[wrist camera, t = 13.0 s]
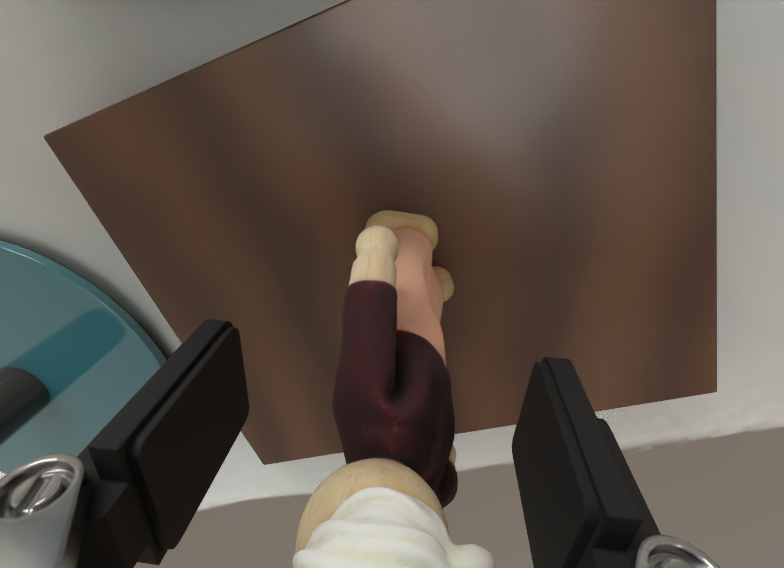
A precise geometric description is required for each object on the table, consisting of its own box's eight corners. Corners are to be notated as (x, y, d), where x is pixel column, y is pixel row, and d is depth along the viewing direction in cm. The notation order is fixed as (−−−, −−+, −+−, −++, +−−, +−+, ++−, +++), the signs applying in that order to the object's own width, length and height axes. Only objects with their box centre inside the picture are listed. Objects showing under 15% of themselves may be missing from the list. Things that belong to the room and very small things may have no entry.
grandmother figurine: (321, 208, 15) (-3, 593, 4) (414, 162, 14) (320, 519, 3) (411, 361, 18) (366, 834, 7) (495, 333, 17) (601, 843, 6)
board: (273, 443, 24) (263, 465, 22) (73, 130, 16) (41, 136, 15) (697, 369, 19) (717, 392, 17) (684, -139, 11) (717, -167, 10)
